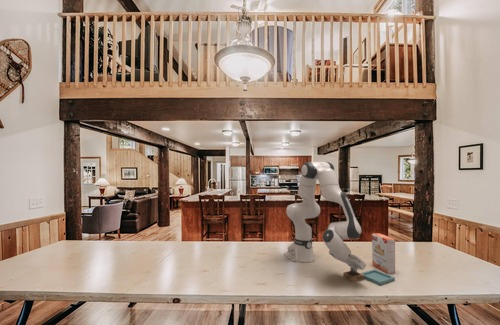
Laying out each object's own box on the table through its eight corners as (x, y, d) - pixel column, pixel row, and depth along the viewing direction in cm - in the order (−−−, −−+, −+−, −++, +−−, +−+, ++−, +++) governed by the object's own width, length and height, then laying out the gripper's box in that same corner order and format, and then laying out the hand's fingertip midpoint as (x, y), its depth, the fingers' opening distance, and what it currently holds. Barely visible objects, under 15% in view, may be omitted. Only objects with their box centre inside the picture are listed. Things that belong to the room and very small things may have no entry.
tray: (359, 276, 151) (359, 273, 151) (374, 272, 157) (374, 269, 157) (380, 285, 140) (380, 282, 140) (394, 280, 146) (394, 277, 146)
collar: (343, 276, 151) (343, 272, 151) (352, 274, 155) (352, 270, 155) (354, 282, 144) (354, 277, 144) (364, 279, 148) (364, 274, 148)
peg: (349, 277, 150) (348, 256, 150) (353, 276, 152) (353, 255, 152) (354, 280, 147) (354, 258, 147) (358, 278, 149) (358, 257, 149)
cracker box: (371, 265, 169) (371, 233, 169) (379, 264, 170) (379, 232, 170) (387, 274, 155) (386, 239, 155) (395, 273, 156) (395, 238, 156)
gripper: (360, 253, 137) (373, 268, 142) (331, 243, 155) (343, 256, 160) (355, 263, 135) (367, 278, 139) (326, 251, 153) (338, 265, 157)
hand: (354, 266), depth 150 cm, fingers closed on peg, 4 cm apart
